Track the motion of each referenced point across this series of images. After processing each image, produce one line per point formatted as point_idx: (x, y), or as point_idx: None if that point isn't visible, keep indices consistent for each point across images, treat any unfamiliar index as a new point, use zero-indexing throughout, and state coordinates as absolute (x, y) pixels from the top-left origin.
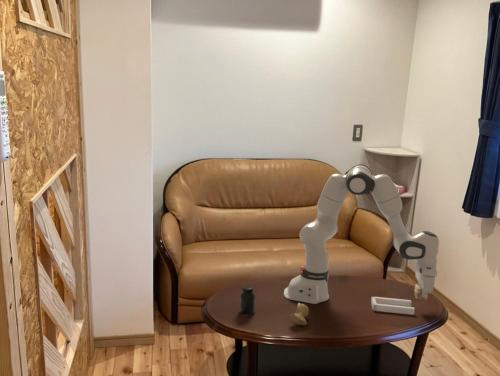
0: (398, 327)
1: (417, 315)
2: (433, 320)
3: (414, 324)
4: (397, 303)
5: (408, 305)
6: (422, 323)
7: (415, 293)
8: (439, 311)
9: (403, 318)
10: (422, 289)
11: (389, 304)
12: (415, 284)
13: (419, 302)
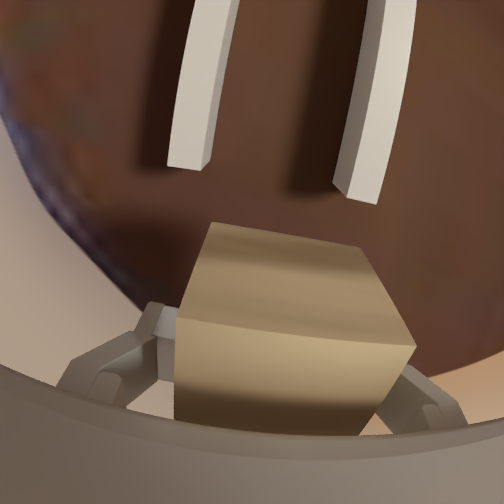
0: (4, 16)
1: (175, 183)
2: (114, 273)
3: (35, 118)
4: (364, 67)
5: (341, 164)
6: (55, 180)
7: (289, 254)
8: None
9: (111, 52)
10: (102, 380)
11: (369, 9)
12: (411, 347)
13: (409, 286)
